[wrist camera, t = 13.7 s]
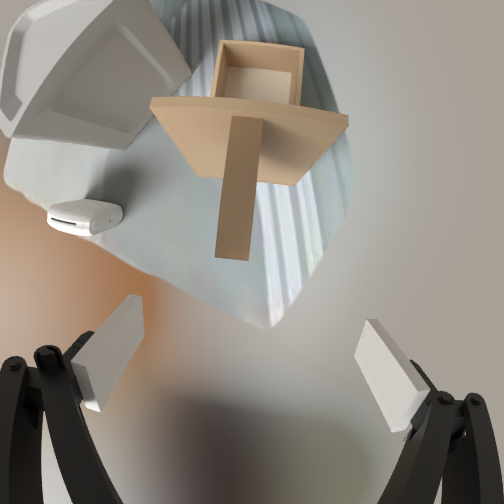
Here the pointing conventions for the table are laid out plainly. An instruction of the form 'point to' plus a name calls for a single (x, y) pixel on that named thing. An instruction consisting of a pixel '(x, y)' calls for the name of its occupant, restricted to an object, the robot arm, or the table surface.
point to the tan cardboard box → (245, 151)
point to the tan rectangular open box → (258, 71)
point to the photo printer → (84, 216)
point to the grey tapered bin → (86, 72)
